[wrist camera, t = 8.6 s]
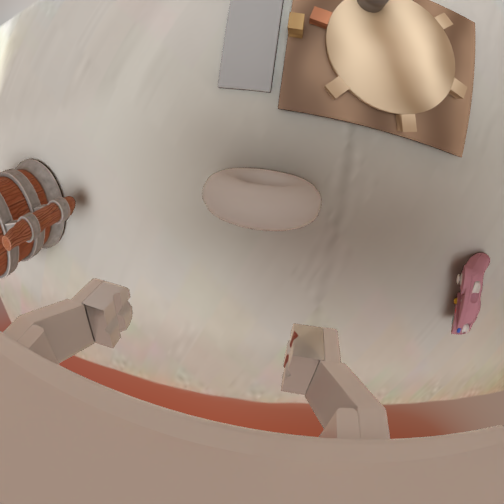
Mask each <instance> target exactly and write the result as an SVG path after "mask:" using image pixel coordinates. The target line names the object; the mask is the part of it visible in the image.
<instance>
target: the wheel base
mask: <svg viewBox="0 0 504 504" xmlns="http://www.w3.org/2000/svg"><path fill="white" fill-rule="evenodd" d="M342 1H344V0H293V3H292V10H291V12H290V14H289V21H288V39H287V46H286V54H285V61H284V68H283V75H282V82H281V89H280V96H279V104H278V109H284V110H290V111H297V112H302V113H308V114H313V115H319V116H324V117H328V118H333V119H338V120H342V121H347V122H351V123H355V124H359V125H363V126H367V127H371V128H374V129H378V130H382V131H385V132H389V133H392V134H396V135H399V136H402V137H405V138H408V139H412V140H415V141H418V142H421V143H424V144H426V145H429V146H432V147H435V148H438V149H440V150H443V151H446V152H448V153H451V154H453V155H456V156H459V157H462V153H463V149H464V144H465V138H466V133H467V127H468V121H469V114H470V107H471V99H472V90H473V79H474V65H475V23H474V22H473V21H471V20H469V19H467V18H465V17H463V16H461V15H459V14H458V13H456V12H454V11H452V10H449V9H447V8H445V7H443V6H441V5H439V4H437V3H434V2H432V1H430V0H412V1H414V2H416V3H417V4H419V5H420V6H422V7H423V8H424V9H426V10H427V11H428V12H429V13H430V14H431V15H432V16H433V17H436V16H438V15H440V14H442V13H445V14H446V15H447V17H448V18H449V19H450V20H451V22H452V23H453V25H451V26H449V27H447V28H445V29H444V31H445V33H446V35H447V36H448V38H449V41H450V43H451V46H452V49H453V52H454V58H455V77H454V78H456V79H457V80H459V81H460V82H461V83H463V84H464V85H465V86H467V90H466V93H465V96H464V99H455V98H454V97H453V96H451V95H450V94H447V96H446V97H445V98H444V100H443V101H442V102H440V103H439V104H438V105H437V106H435V107H434V108H432V109H430V110H427V111H425V112H421V113H417V114H415V118H416V127H417V132H401V131H398V130H397V122H396V114H393V113H388V112H384V111H381V110H378V109H375V108H373V107H371V106H369V105H367V104H365V103H363V102H362V101H360V100H359V99H358V98H356V97H355V96H354V95H353V94H351V93H350V92H349V91H348V90H347V91H346V92H344V93H343V94H341V95H340V96H338V97H337V98H336V99H333V98H332V97H331V96H330V95H329V93H328V92H327V91H326V90H325V89H324V86H325V85H327V84H328V83H330V82H331V81H332V80H334V79H335V78H337V76H336V75H335V73H334V71H333V69H332V67H331V65H330V63H329V60H328V57H327V53H326V47H325V36H326V30H327V28H326V29H324V28H321V27H318V26H316V25H313V24H310V23H309V19H310V16H311V13H312V11H313V9H314V6H316V7H319V8H322V9H324V10H327V11H330V12H332V13H333V12H334V10H335V9H336V8H337V6H338V5H339V4H340V3H341V2H342Z"/></svg>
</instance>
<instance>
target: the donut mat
mask: <svg viewBox="0 0 504 504" xmlns="http://www.w3.org/2000/svg"><path fill="white" fill-rule="evenodd" d="M282 7H283V0H231V1H230V7H229V13H228V19H227V25H226V31H225V38H224V44H223V51H222V58H221V65H220V73H219V80H218V87H219V88H231V89H243V90H253V91H262V92H271V85H272V78H273V71H274V64H275V57H276V49H277V42H278V35H279V28H280V21H281V14H282Z"/></svg>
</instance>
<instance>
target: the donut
mask: <svg viewBox="0 0 504 504" xmlns="http://www.w3.org/2000/svg"><path fill="white" fill-rule="evenodd" d="M202 197H203V200H204V202H205V204H206V206H207V208H208V210H209V211H210V212H211V213H212V214H214V215H215V216H217V217H218V218H220V219H221V220H224V221H226V222H229V223H232V224H234V225H237V226H241V227H246V228H250V229H256V230H265V231H286V230H292V229H297V228H302V227H304V226H305V225H307V224H309V223H311V222H313V221H314V220H315V219H316V217H317V216H318V214H319V211H320V208H321V201H322V199H321V196H320V193H319V192H318V190H317V189H316V188H315V187H314V185H313V184H311V183H310V182H308V181H306V180H305V179H303V178H300V177H297V176H294V175H291V174H287V173H283V172H278V171H273V170H266V169H257V168H230V169H224V170H221V171H219V172H216V173H214V174H212V175H211V176H210V177H209V178H208V180H207V181H206V183H205V184H204V186H203V190H202Z"/></svg>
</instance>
